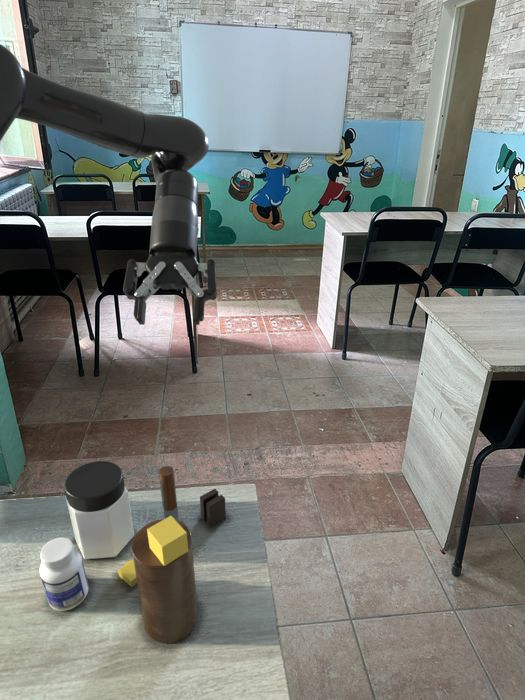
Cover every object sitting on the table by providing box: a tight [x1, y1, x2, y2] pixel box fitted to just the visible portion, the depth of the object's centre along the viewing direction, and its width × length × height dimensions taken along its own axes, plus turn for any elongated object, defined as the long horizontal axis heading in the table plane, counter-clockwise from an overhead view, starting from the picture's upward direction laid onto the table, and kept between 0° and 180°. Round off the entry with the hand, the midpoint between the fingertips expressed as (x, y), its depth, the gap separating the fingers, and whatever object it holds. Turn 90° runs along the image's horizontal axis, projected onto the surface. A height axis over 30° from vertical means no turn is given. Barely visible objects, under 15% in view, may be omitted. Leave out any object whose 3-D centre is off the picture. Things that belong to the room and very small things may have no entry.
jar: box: [63, 460, 135, 560], centre depth 72 cm, size 9×8×12 cm
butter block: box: [147, 516, 188, 566], centre depth 55 cm, size 3×3×3 cm
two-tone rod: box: [158, 465, 180, 522], centre depth 74 cm, size 2×2×12 cm
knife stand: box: [199, 488, 227, 528], centre depth 78 cm, size 3×3×4 cm
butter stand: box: [131, 518, 199, 644], centre depth 60 cm, size 7×7×14 cm
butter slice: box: [117, 558, 137, 588], centre depth 69 cm, size 1×3×3 cm
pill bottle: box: [38, 536, 89, 612], centre depth 64 cm, size 5×5×9 cm
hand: (168, 323), depth 73 cm, fingers open, 8 cm apart
